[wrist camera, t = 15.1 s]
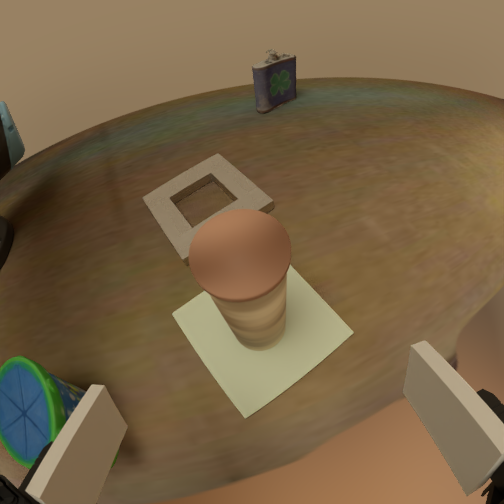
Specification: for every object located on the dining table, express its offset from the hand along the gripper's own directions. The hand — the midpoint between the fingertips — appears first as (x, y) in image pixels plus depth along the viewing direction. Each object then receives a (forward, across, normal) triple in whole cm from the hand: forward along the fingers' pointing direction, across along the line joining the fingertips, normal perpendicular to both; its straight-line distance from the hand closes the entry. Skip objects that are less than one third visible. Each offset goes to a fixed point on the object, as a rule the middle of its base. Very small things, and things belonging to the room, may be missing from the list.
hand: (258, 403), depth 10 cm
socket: (+28, -5, +6) cm, 29 cm away
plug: (+16, 0, -5) cm, 17 cm away
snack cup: (+10, -21, -12) cm, 26 cm away
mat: (+16, 0, -5) cm, 17 cm away
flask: (+45, +9, +23) cm, 52 cm away
